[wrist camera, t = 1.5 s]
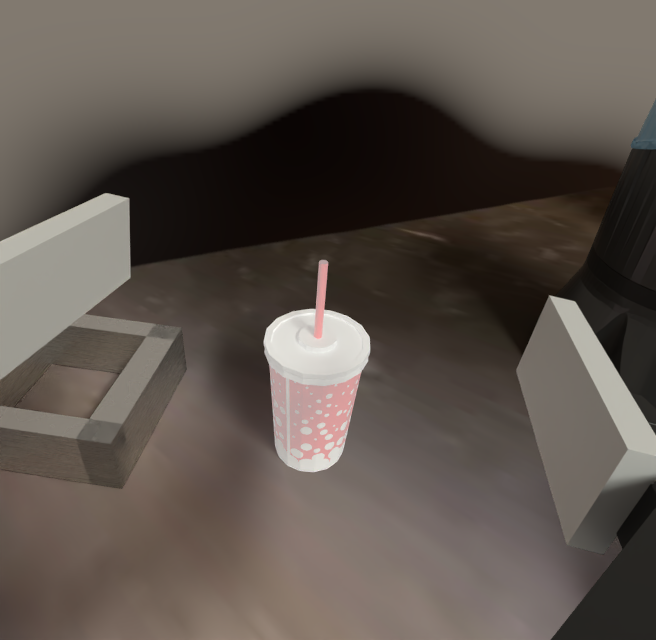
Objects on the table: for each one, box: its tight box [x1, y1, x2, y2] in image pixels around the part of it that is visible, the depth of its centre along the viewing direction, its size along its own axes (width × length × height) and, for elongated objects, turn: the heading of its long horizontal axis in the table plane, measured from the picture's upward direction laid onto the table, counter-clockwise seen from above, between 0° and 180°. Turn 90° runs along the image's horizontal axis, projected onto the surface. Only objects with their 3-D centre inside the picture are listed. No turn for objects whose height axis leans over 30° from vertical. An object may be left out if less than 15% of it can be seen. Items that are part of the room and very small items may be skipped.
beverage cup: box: [264, 260, 370, 472], centre depth 30 cm, size 6×6×14 cm
